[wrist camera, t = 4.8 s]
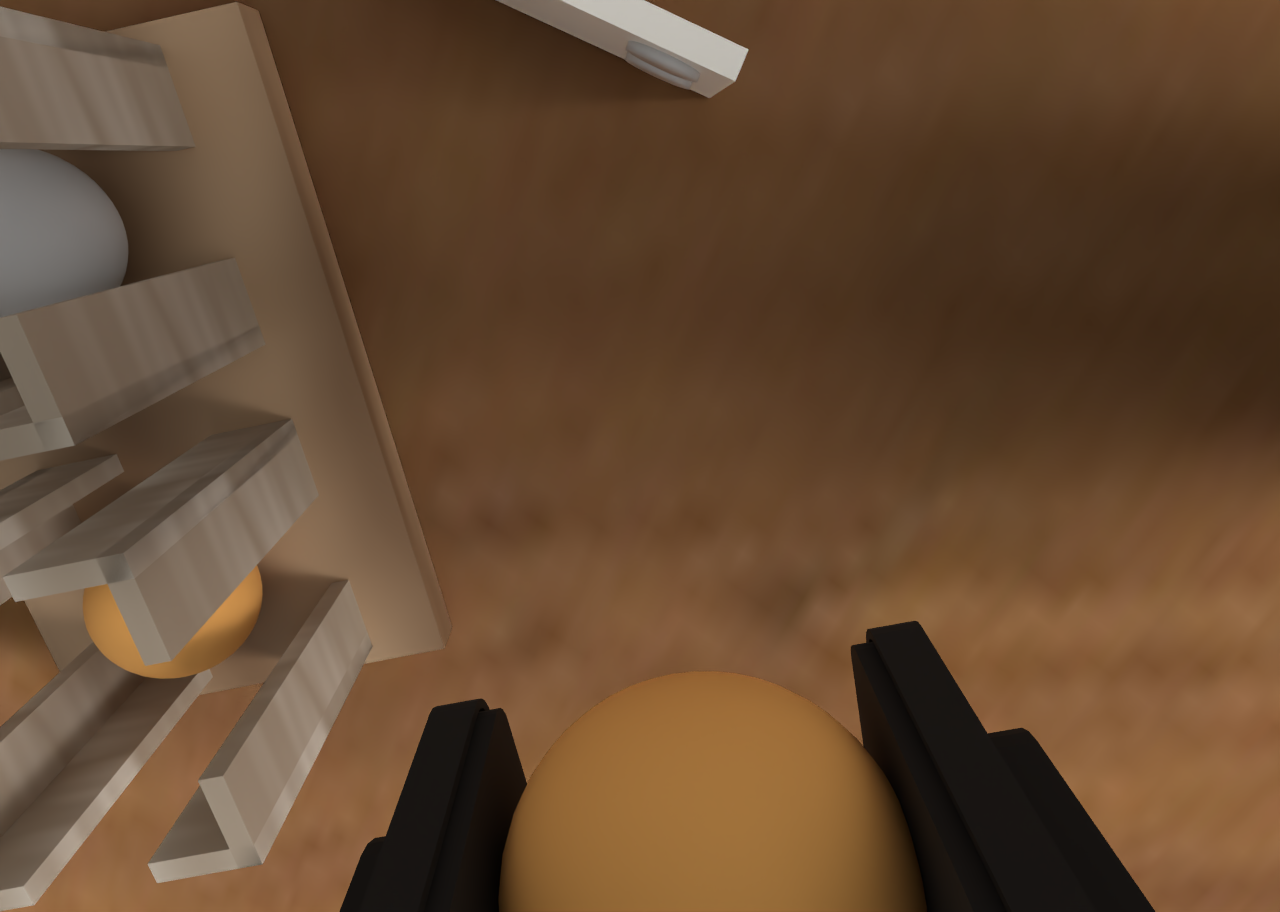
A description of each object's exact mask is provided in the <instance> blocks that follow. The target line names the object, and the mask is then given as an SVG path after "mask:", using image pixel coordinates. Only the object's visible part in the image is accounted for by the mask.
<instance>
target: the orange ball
mask: <svg viewBox="0 0 1280 912" xmlns="http://www.w3.org/2000/svg"><path fill="white" fill-rule="evenodd" d="M498 903H499V912H927V905H926V899H925V893H924V887H923V881H922V877H921V872H920V868H919V864H918V860H917V856H916V852H915V849H914V845H913V841H912V837H911V834H910V831H909V827H908V824H907V822H906V819H905V816H904V813H903V811H902V808H901V805H900V802H899V800H898V798H897V796H896V794H895V792H894V790H893V788H892V786H891V784H890V783H889V781H888V779H887V777H886V776H885V774H884V772H883V771H882V770H881V768H880V767H879V766H878V764H877V763H876V762H875V760H874V759H873V758H872V757H871V755H870V754H869V753H868V752H867V750H866V749H865V748H864V747H863V746H862V744H861V743H860V742H859V741H858V740H857V738H855V737H854V736H853V735H852V734H851V733H850V732H849V731H848V730H847V729H845V728H844V727H843V726H842V725H841V724H840V723H839V722H838V721H836V720H835V719H834V718H833V717H832V716H831V715H830V714H828V713H827V712H826V711H824V710H823V709H821V708H820V707H818V706H817V705H815V704H814V703H812V702H811V701H809V700H807V699H805V698H803V697H801V696H799V695H797V694H795V693H793V692H791V691H789V690H787V689H785V688H783V687H781V686H779V685H777V684H774V683H771V682H768V681H765V680H762V679H760V678H755V677H751V676H746V675H742V674H737V673H728V672H718V671H692V672H684V673H675V674H669V675H665V676H661V677H657V678H652V679H648V680H646V681H643V682H640V683H637V684H635V685H632V686H629V687H627V688H625V689H623V690H621V691H619V692H617V693H615V694H613V695H611V696H609V697H608V698H606V699H605V700H603V701H602V702H600V703H599V704H597V705H596V706H594V707H593V708H591V709H590V710H589V711H587V712H586V713H585V714H584V715H582V716H581V717H580V718H579V719H578V720H577V721H576V722H574V723H573V724H572V725H571V726H570V727H569V728H568V729H566V730H565V732H564V733H563V734H562V735H561V736H560V737H559V738H558V740H557V741H556V742H555V743H554V744H553V745H552V747H551V748H550V749H549V751H548V752H547V753H546V755H545V756H544V757H543V759H542V760H541V762H540V763H539V765H538V766H537V768H536V769H535V771H534V772H533V774H532V776H531V777H530V779H529V781H528V783H527V786H526V788H525V790H524V792H523V794H522V796H521V798H520V801H519V803H518V805H517V807H516V810H515V812H514V814H513V818H512V822H511V825H510V829H509V833H508V836H507V840H506V844H505V848H504V851H503V855H502V865H501V875H500V886H499V896H498Z"/></svg>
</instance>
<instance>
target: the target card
mask: <svg viewBox="0 0 1280 912" xmlns="http://www.w3.org/2000/svg"><path fill="white" fill-rule="evenodd" d="M496 1H498V2H501V3H503V4H505V5H507V6H509V7H511V8H514V9H516V10H518V11H520V12H522V13H525V14H527V15H529V16H531V17H533V18H535V19H538V20H540V21H542V22H544V23H546V24H549V25H551V26H553V27H555V28H557V29H559V30H562V31H564V32H566V33H568V34H570V35H573V36H575V37H577V38H579V39H581V40H583V41H586V42H588V43H590V44H592V45H594V46H597V47H599V48H601V49H603V50H605V51H607V52H610V53H612V54H614V55H616V56H618V57H621V58H623V59H625V61H626V62H628V63H629V64H631V65H632V66H634V67H636V68H638V69H640V70H641V71H643V72H645V73H647V74H649V75H652V76H654V77H656V78H658V79H660V80H663V81H665V82H667V83H670V84H672V85H675V86H677V87H680V88H684V89H688V90H689V89H690V90H692V91H695V92H697V93H699V94H701V95H703V96H706V97H708V98H711V97H712V96H714V95H715V94H717V93H718V92H720V91H721V90H723V89H724V88H726V87H728V86H729V85H731V84H732V83H734V82H735V81H736V79H737V76H738V74H739V71H740V69H741V67H742V64H743V62H744V59H745V57H746V55H747V52H748V50H749V49H747V48H744V47H742V46H740V45H738V44H736V43H734V42H732V41H730V40H727V39H725V38H723V37H721V36H719V35H717V34H715V33H713V32H710V31H708V30H706V29H704V28H702V27H700V26H698V25H696V24H693V23H691V22H689V21H687V20H685V19H683V18H681V17H679V16H676V15H674V14H672V13H670V12H668V11H666V10H664V9H662V8H660V7H657V6H655V5H653V4H651V3H649V2H647V1H645V0H496Z"/></svg>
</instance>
